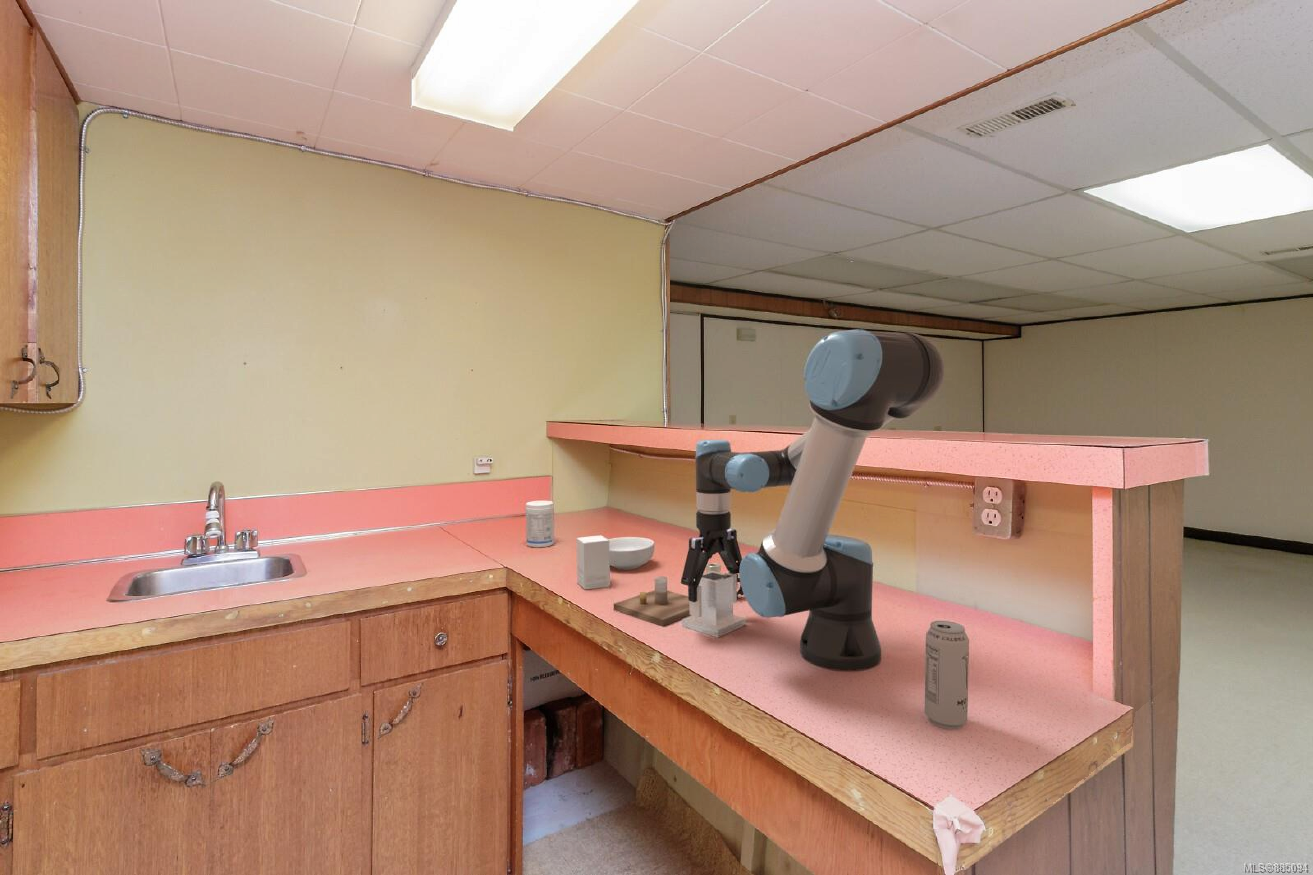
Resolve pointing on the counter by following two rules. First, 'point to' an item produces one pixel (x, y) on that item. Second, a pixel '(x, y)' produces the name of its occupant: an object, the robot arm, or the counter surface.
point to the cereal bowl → (630, 552)
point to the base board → (656, 605)
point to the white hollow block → (715, 606)
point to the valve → (717, 568)
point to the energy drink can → (946, 674)
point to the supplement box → (593, 562)
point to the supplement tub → (540, 523)
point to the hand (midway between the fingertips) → (713, 608)
